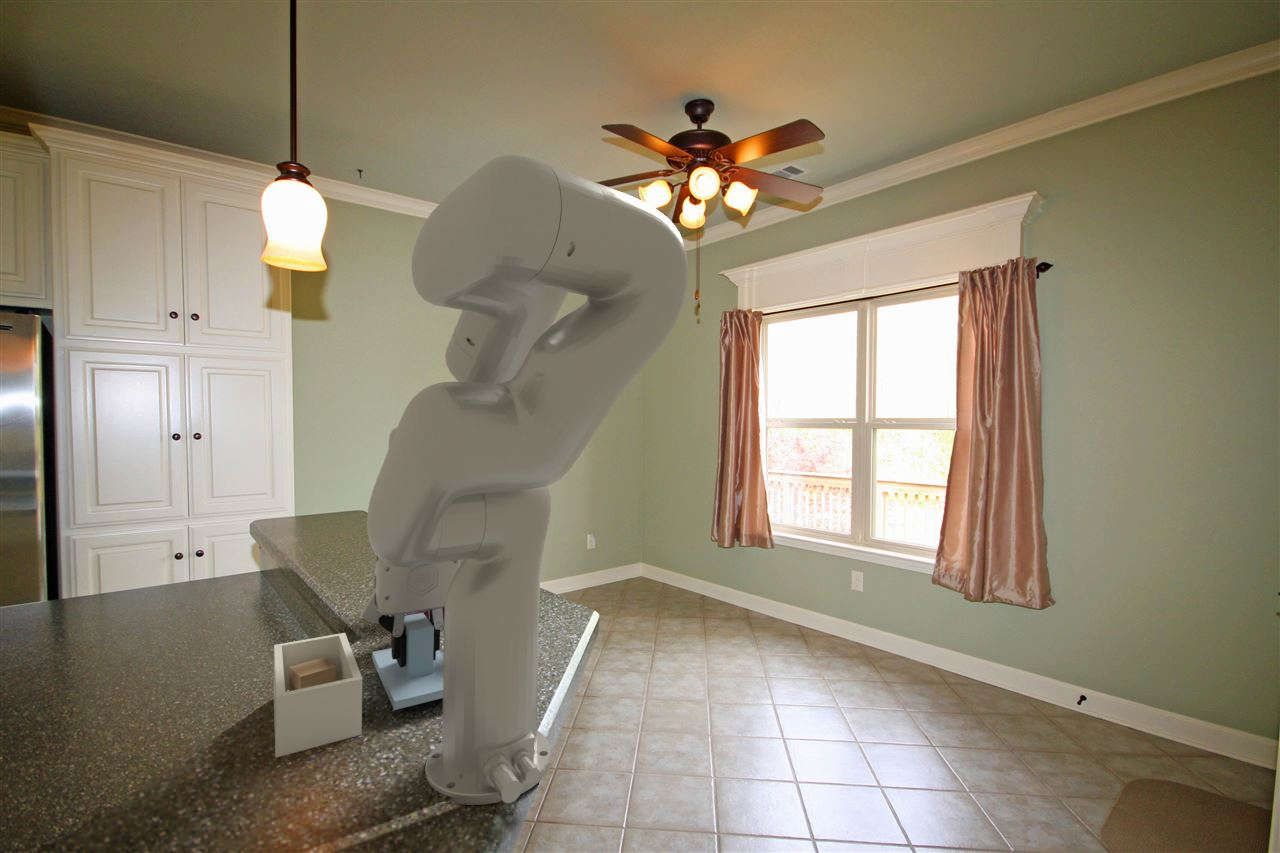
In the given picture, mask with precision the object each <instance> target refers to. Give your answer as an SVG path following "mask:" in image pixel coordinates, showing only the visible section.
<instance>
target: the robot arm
mask: <svg viewBox="0 0 1280 853" xmlns="http://www.w3.org/2000/svg"><path fill="white" fill-rule="evenodd" d="M688 262H689V261H688V254H687V250H686V247H685V243H684V240H683V238H682V236H681V234H680V232H679V230H678V229H677V227H676V226H675V225H674V223H673V222H672V221H671V220H670V219H669V218H668V217H667V216H666V215H665V214H663V213H662V212H660V211H659V210H658V209H656V208H655V207H652V205H649V204H647V203H646V202H645V201H642V200H640V199H638V198H636V197H634V196H631V195H629V194H627V193H624V192H622V191H619V190H617V189H614V188H611V187H609V186H607V185H606V186H605V185H604V184H602V183H601V184H600V183H598V182H595V181H593V180H590V179H586V178H584V177H582V176H579V175H577V174H574V173H572V172H568V171H565V170H563V169H561V168H559V167H555V166H553V165H550V164H547V163H546V162H543V161H540V160H537V159H533V158H530V157H525V156H521V155H515V154H514V155H513V154H511V155H510V154H507V155H501V156H497V157H495V158H493V159H491V160H489V161H487V162H486V163H484V164H483V165H482V166H480V168H478V169H477V170H476V171H474V173H473V174H471V175H470V176H469V177H468V178H467V179H465V180H464V181H463V182H462V183H461V184H460V185H458V186H457V187H456V188H455V189H453V190H452V191H451V192H450V193H449V194H447V196H446V197H445V198H443V199H442V200H441V202H440V203H439V204H438V205H437V206H436V207H435V208H434V209H433V210H432V211H431V212H430V214H429V215H428V217H427V219H426V220H425V222H424V223H423V225H422V227H421V228H420V230H419V233H418V236H417V237H416V241H415V242H414V247H413V250H412V256H411V279H412V281H413V286H414V288H415V290H416V292H417V294H418V295H419V296H420V297H421V298H422V300H424V301H425V302H426V303H429V304H431V305H434V306H438V307H443V308H447V309H448V308H449V309H456V310H461V313H460V315H459V318H458V320H457V323H456V326H455V327H454V330H453V333H452V335H451V337H450V340H449V341H448V344H447V346H446V350H445V356H444V357H445V363H446V364H445V365H446V366H447V368H448V370H449V373H450V374H451V375H452V377H453V378H454V379H455V380H456V381H443V382H437V383H434V384H431V385H429V386H427V387H425V388H423V389H422V390H420V391H418V393H416V395H414V396H413V397H412V399H411V400H410V401H409V402H408V404H407V406H406V407H405V408H404V410H403V411H404V412H403V413H402V415H401V418H400V420H399V423H398V425H397V427H395V428H393V429H392V430H391V432H390V433H389V438H388V449H387V450H388V451H387V452H386V455H385V458H384V460H383V463H382V466H381V468H380V471H379V473H378V475H377V478H376V480H375V484H374V486H373V488H372V492H371V495H370V499H369V503H368V508H367V517H366V531H367V532H366V533H367V537H368V541H369V544H370V546H371V548H372V550H373V552H374V553H375V555H376V561H375V569H374V578H373V591H372V592H371V594H370V596H369V598H368V600H367V601H366V604H364V607H363V609H362V611H361V613H360V616H361V617H362V620H364V621H367V622H370V623H372V624H376V625H380V626H381V627H382V628H383V629H385V630H386V631H387V632H389V634H390V633H391V634H392V659H393V660H394V659H396V660H397V662H398V664H399V666H400V668H401V667H405V665H406V641H407V638H406V635H405V633H404V631H405V630H404V628H403V627H404V619H405V614H407V613H413V612H420V611H426V610H429V621H430V622H431V624H432V625H433V626H434V649H433V661H434V660H436V651H438V650H439V651H440V649H441V648H440V647H441V629H443V654H442V655H443V698H442V717H441V718H442V725H441V726H442V728H441V730H442V731H441V732H442V733H441V735H442V736H441V742H440V743H438V744H437V745H436V746H435V747H434V749H433V750H432V751H431V752H430V753H429V755H428V757H427V759H426V763H425V766H424V768H425V770H424V771H425V778H426V780H427V783H428V784H429V785H430V786H431V787H432V789H434V790H435V791H437V792H438V793H439V794H442V795H445V796H447V797H450V798H449V799H446V801H447V802H451V803H454V804H457V805H458V804H459V805H468V806H481V805H482V806H484V805H489V804H490V805H491V804H496V803H500V802H503V803H505V804H511V803H514V802H515V801H516V800H517V799H518V798H519V797H520V795H521V794H524V793H526V792H527V791H529V790H530V789H533V787H535V785H537V784H539V782H541V781H542V779H543V778H544V777H545V776H546V775H547V773H548V771H550V770H549V769H550V768H551V761H552V750H553V749H552V746H551V743H550V740H548V737H546V736H545V735H544V734H543V733H542V732H541V731H539V730H538V698H539V697H538V696H539V694H538V693H539V689H538V688H539V684H538V683H539V638H540V637H539V636H540V634H539V633H540V631H539V630H540V628H539V627H540V625H539V624H540V598H541V597H540V589H541V573H542V572H541V571H542V562H543V554H544V548H545V543H546V539H547V533H548V529H549V523H550V518H551V512H552V511H551V510H552V509H551V508H552V507H551V506H552V499H551V498H552V497H551V491H550V489H549V486H550V485H551V486H552V485H553V484H555V483H557V482H559V481H560V480H561V479H563V478H564V476H566V474H568V473H569V471H570V470H571V468H572V467H573V466H574V464H575V463H576V462H577V460H578V459H579V457H580V456H581V454H582V453H583V452H584V450H585V448H587V446H588V445H589V443H590V441H591V440H592V438H593V437H594V436H595V434H596V432H597V431H598V430H599V428H600V426H601V425H602V424H603V422H604V421H605V419H606V418H607V417H608V416H609V414H610V412H611V410H612V408H613V407H614V405H615V404H616V402H617V401H618V399H619V397H620V396H621V395H622V394H623V392H624V391H625V390H626V389H627V387H628V386H629V385H630V384H631V383H632V381H633V380H634V379H635V377H637V375H638V374H639V373H640V372H641V371H642V370H643V369H644V367H646V365H647V364H648V362H649V361H651V359H652V358H653V357H654V356H655V354H657V352H658V351H659V349H660V348H661V347H662V345H664V343H665V341H666V340H667V338H669V335H670V334H671V332H672V330H673V328H674V326H675V324H676V323H677V320H678V317H679V316H680V313H681V311H682V308H683V304H684V301H685V298H686V293H687V288H688V287H687V286H688V279H689V278H688V275H689V268H688V267H689V264H688ZM569 293H571V294H575V295H576V294H577V295H582V296H586V297H587V298H586V301H585V303H584V304H582V305H581V306H579V307H578V308H576V309H574V310H573V311H571V312H569V313H567V314H566V315H564V316H563V317H561V318H560V319H557V321H556V318H557V316H558V314H559V312H560V310H561V308H562V306H563V305H564V302H565V300H566V298H567V296H568V294H569ZM554 322H555V323H554ZM462 559H464V560H463V562H462V564H461V566H460V561H459V560H462ZM548 758H549V760H548ZM546 763H547V764H546Z"/></svg>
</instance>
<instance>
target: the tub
mask: <svg viewBox="0 0 1280 853" xmlns="http://www.w3.org/2000/svg"><path fill="white" fill-rule="evenodd" d="M353 652H354V651H353V650H352V647H351V645H350V642H349V639H348V637H347V634H346V632H342V633H335V634H330V635H324V636H318V637H312V638H307V639H301V640H300V639H299V640H295V641H290V642H284V643H277V644H273V715H274V716H273V718H274V719H273V720H274V721H273V723H274V749H275V751H274V754H275V758H279V757H284V756H287V755H292V754H294V753H299V752H302V751H306V750H310V749H314V748H317V747H321V746H324V745H328V744H333V743H335V742H339V741H340V742H341V741H343V740H347V739H350V738H353V737H357V736H358V737H359V736H362V731H363V730H362V727H363V726H362V722H363V720H362V719H363V717H362V714H363V677H362V674H361V671H360V668H359V666H358V663H357V661H356V658H355V655H354V653H353ZM323 657H324V658H326V659H327V660H328V661H330V662H331V663H332V664H334V665H335V666H336V681H335V682H330V683H326V684H321V685H316V686H312V687H307V688H302V689H298V690H293V691H288V692H285V691H287V690H289V667H291V666H295V665H298V664H302V663H305V662H309V661H312V660H316V659H319V658H323Z"/></svg>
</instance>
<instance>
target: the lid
mask: <svg viewBox="0 0 1280 853" xmlns="http://www.w3.org/2000/svg"><path fill="white" fill-rule="evenodd" d="M403 628H404V630H405V631H404V633H405V635H406V638H407V641H406V665H405V667H401V668H400V666H399V664H398V662H397V660H396V659H394V660H393V659H392V648H389V647H388V648H386V649H381V650H376V651H371V659H372V662H373V665H374V667H375V669H376V671H377V674H378V676H379V679H380V681H381V683H382V686H383V687H384V690H385V692H386V694H387V697H388V699H389V701H390V704H391V706H392V709H393V711H397V710H401V709H404V708H407V707H413V706H417V705H420V704H421V705H422V704H425V703H428V702H432V701H436V700H440V699H443V655H444V654H442V652H441V651H440V650H438V651H436V660H434V661H433V649H434V626H433V625H432V624H431V622H430V621H429V620H428V619H427V617H426V616H425V615H424V614H423V613H419V614H413V615H407V616H405V619H404V627H403Z"/></svg>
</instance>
